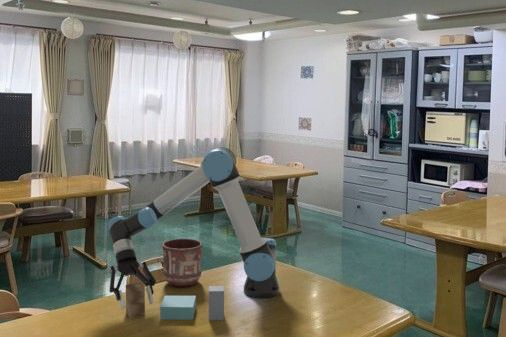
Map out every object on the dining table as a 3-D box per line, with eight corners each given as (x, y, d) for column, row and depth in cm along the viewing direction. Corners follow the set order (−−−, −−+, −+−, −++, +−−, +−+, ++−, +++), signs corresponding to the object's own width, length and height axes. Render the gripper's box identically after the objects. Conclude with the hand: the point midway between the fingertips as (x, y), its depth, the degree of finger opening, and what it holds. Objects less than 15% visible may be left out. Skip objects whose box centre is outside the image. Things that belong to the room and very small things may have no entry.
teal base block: (195, 308, 207) (195, 295, 207) (193, 320, 195) (193, 307, 195) (164, 308, 207) (164, 295, 206) (160, 320, 195) (160, 307, 194)
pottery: (153, 284, 233) (153, 244, 231) (180, 274, 247) (180, 236, 245) (183, 293, 223) (183, 251, 221) (210, 282, 237) (210, 242, 235)
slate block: (223, 314, 201) (223, 285, 199) (223, 320, 195) (224, 290, 194) (208, 314, 200) (208, 286, 199) (208, 320, 195) (209, 291, 193)
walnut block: (140, 310, 203) (139, 282, 202) (144, 315, 198) (144, 286, 197) (126, 313, 200) (125, 284, 199) (130, 318, 196) (130, 289, 194)
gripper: (150, 254, 216) (164, 304, 204) (93, 262, 205) (105, 315, 193) (154, 244, 211) (169, 295, 199) (96, 251, 200) (108, 305, 188)
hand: (137, 305), depth 196 cm, fingers open, 10 cm apart
